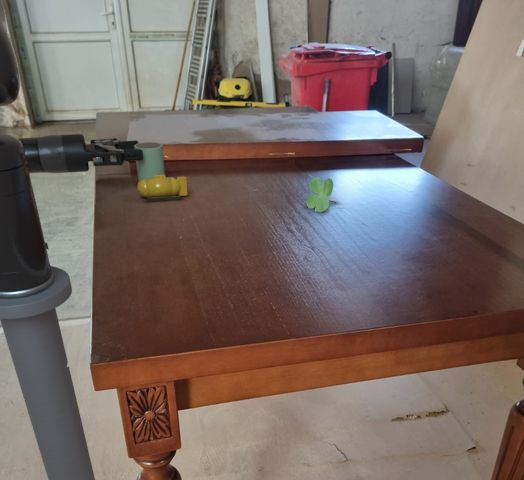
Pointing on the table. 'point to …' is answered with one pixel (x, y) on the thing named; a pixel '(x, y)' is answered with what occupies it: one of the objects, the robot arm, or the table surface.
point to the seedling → (319, 194)
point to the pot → (150, 160)
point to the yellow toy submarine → (162, 188)
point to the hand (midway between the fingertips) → (140, 150)
